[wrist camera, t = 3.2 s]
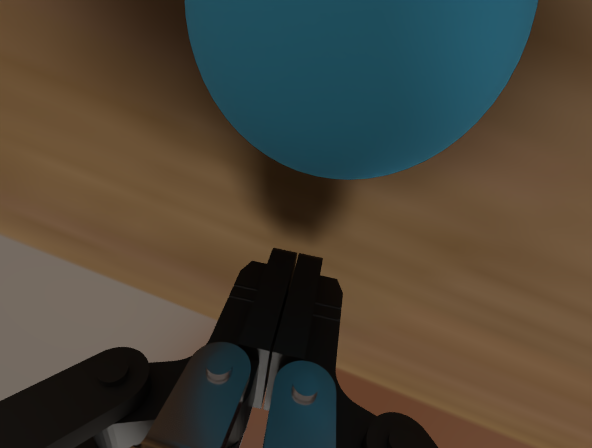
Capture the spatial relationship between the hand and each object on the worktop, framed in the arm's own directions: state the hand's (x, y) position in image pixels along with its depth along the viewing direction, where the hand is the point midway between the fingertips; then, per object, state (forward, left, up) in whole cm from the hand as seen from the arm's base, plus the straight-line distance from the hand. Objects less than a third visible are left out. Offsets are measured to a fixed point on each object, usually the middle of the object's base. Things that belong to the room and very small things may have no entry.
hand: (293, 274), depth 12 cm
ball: (0, -7, +1) cm, 7 cm away
